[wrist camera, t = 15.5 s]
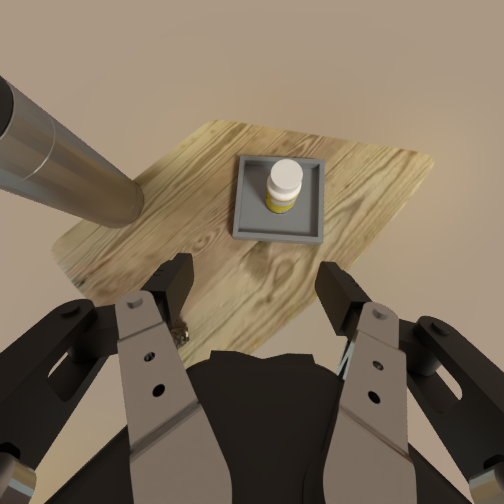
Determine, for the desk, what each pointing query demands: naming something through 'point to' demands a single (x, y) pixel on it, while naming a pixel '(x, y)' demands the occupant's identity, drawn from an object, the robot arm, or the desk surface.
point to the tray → (272, 225)
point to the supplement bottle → (283, 186)
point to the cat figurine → (179, 336)
